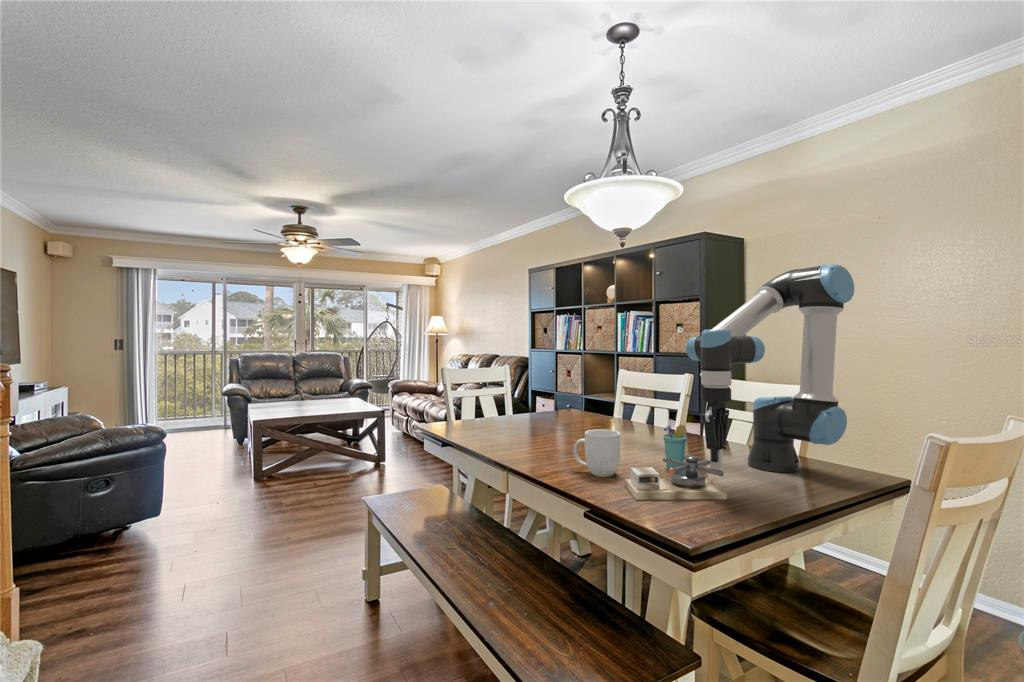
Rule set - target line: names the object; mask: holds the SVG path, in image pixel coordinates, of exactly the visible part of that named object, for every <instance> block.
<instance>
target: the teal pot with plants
mask: <svg viewBox="0 0 1024 682" xmlns="http://www.w3.org/2000/svg"><path fill="white" fill-rule="evenodd" d="M663 430H664V432H666V431H667V430H668V432H669V433H668V434H667V433H666V434H663V435H662V437H663V441H664V448H665V452H664V453H665V457H667V458H670V459H674V460H678V461H683V462H685V459H684V456H685V452H686V442H687V431H688V430H687V428H686V426H685V425H684V424H678V425H677V426H676V427H675V432H674V433H673V432H672V427H671V425H670V424H668V425H667V426H665V427H664V428H663ZM665 464H666V470H667V471H668V470H669V468H675V467H679V466H678V465H674V464H670V463H665Z"/></svg>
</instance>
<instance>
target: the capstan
mask: <svg viewBox="0 0 1024 682" xmlns="http://www.w3.org/2000/svg"><path fill="white" fill-rule="evenodd" d="M662 461H663V463H665V464H666V463H670V464H674V465H678V466H679V467H675V468H669V470H668V469H667V471H668V472H667V473H669V475H670V479H671V483H672V484H674V485H677V486H681V487H687V488H700V487H704V486H705V479H706V476H705V475H704V474H701V473H699V472H703V473H708V474H710V475H714V476H718V477H723V476H724V470H723V471H722V470H716V469H712V468H710V467H707V466H710V458H708V459H703V460H701V461H700V457H699V456H697V455H691V454H690V455H689V454H688V455H684V462H683V461H678V460H674V459H670V458H667V457H666V456H665V457H663V458H662Z"/></svg>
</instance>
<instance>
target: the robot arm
mask: <svg viewBox="0 0 1024 682" xmlns="http://www.w3.org/2000/svg"><path fill="white" fill-rule="evenodd" d="M854 282H855V281H854V279H853V277H852V274H851V273H850V272H849V270H848V269H847V268H846V267H844V266H842V265H840V264H823V265H818V266H811V267H804V268H796V269H791V270H788V271H785V272H782V273H780V274H779V275H777V276H775V277H774V278H772V279H770V280H769V281H766V282H765V283H764V284H763V285H761V286H760V287H759V288H758V289H756V291H755V293H754V296H753V297H751V298H750V299H749V300H747V301H746V302H745V303H743V304H742V305H741V306H739V307H738V308H737V309H736V310H734V311H733V312H732V313H730V314H729V315H728V316H727V317H726V318H724V319H723V320H721V321H720V322H719V323H717V324H716V326H714V327H712V328H711V329H704V330H703V331H702V332H701V335H697V336H692V337H690V338H689V339H687V342H686V345H685V352H686V355H687V357H688V358H689V359H691V360H692V361H698V362H700V364H701V365H700V369H701V370H700V374H699V376H700V378H701V379H700V380H701V381H700V382H701V385H702V386H701V388H700V391H701V392H700V399H701V401H704V402H706V409H705V413H706V414H705V413H702V415H701V417H702V421H703V426H704V435H705V444H706V450H709V452H710V456H709V457H710V458H709V459H710V465H709V466H710V467H709V468H712V469H716V470H722V471H723V472H724V469H723V467H724V466H723V465H724V464H723V463H724V462H723V460H724V459H723V458H724V456H723V452H724V451H723V450H727V446H726V444H727V435H728V423H729V421H728V420H729V415H730V409H727V408H726V407H727V405H726V403H728V402H731V401H732V388H731V387H730V386H732V364H753V363H757V362H760V361H761V360H762V359H763V357H764V356H765V352H766V348H765V347H766V346H765V343H764V341H763V340H761V339H760V338H759V337H757V336H750V335H747V334H748V332H750V331H751V330H752V329H754V328H755V327H756V326H757V325H759V324H760V323H761V322H763V321H764V320H766V319H767V318H768V317H769V316H770V315H771V314H775V313H778V312H780V311H781V310H782V309H784V308H788V307H792V306H796V307H797V306H798V310H799V311H800V313H802V314H803V327H802V344H801V345H802V346H801V360H800V361H801V362H800V377H799V378H800V381H799V383H800V384H799V391H798V393H796V394H795V395H794V396H788V395H786V396H766V397H765V396H764V397H757V398H755V400H754V401H753V408H752V409H753V410H752V416H753V417H752V419H753V420H752V422H753V442H752V445H751V448H750V450H749V453H748V456H747V465H748V466H750V467H752V468H754V469H758V470H761V471H766V472H767V471H768V472H774V473H775V472H776V473H793V472H794V473H795V472H799V471H800V470H801V469H800V467H801V464H800V459H799V457H798V455H797V451H796V449H795V445H794V440H797V441H802V442H807V443H812V444H813V445H824V446H832V445H834V444H835V443H837V442H839V441H840V439H841V438H843V435H844V434H845V432H846V428H847V427H848V426H847V425H848V417H847V415H846V411H845V410H844V409H843V408H841V407H840V406H839V400H838V399H837V398H836V397H835V396H834V393H833V392H834V378H835V376H834V375H835V360H836V359H835V358H836V342H837V341H836V340H837V323H838V316H839V315H840V314H841V313H842V312H843V311H844V305H845V304H847V303H849V302H850V301H851V300H852V299H853V297H854V294H855V283H854Z"/></svg>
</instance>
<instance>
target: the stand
mask: <svg viewBox="0 0 1024 682" xmlns="http://www.w3.org/2000/svg"><path fill="white" fill-rule="evenodd" d="M624 486H625V488H626V489H627V490H628V492H629V493H630V494H631V496H632V497H633V498H634V499H635V501H656V500H657V501H659V500H660V501H661V500H663V501H667V500H670V501H672V500H673V501H676V500H677V501H678V500H683V501H684V500H692V501H693V500H694V501H695V500H697V501H699V500H727V498H728V495H727V494H728V493H727V491H726V490H725V489H723V488H722V487H721V486H720V485H718V484H716V483H715V482H714V481H712V480H710V479H709V478H705V486H704V487H700V488H687V487H681V486H677V485H674V484H672V483H671V478H660V473H659V472H657V471H656V470H655V469H654V468H653V467H649V466H648V467H643V466H642V467H630V478H625V479H624Z"/></svg>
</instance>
